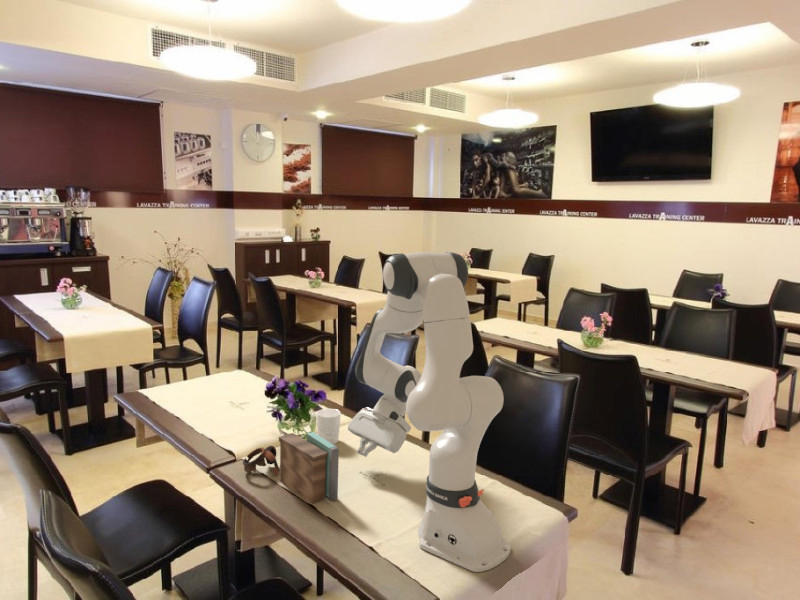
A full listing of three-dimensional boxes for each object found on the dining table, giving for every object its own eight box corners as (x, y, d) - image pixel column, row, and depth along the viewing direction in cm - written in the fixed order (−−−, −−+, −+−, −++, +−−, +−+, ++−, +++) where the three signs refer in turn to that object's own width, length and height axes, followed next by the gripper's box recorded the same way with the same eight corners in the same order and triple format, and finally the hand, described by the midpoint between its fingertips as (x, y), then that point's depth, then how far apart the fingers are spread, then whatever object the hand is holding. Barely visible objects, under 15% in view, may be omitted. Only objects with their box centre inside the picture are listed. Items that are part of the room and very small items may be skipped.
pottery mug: (275, 483, 157) (259, 461, 155) (249, 491, 160) (233, 469, 158) (290, 455, 168) (276, 434, 166) (265, 463, 171) (251, 443, 169)
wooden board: (326, 498, 149) (327, 452, 147) (312, 504, 146) (313, 457, 144) (292, 476, 161) (292, 433, 159) (278, 480, 157) (278, 437, 155)
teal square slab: (339, 497, 149) (340, 448, 146) (331, 500, 147) (332, 451, 145) (312, 477, 159) (313, 431, 157) (305, 480, 158) (306, 433, 155)
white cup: (335, 447, 181) (336, 418, 179) (312, 444, 183) (313, 415, 181) (342, 437, 189) (343, 410, 187) (320, 435, 190) (321, 407, 189)
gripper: (359, 400, 172) (333, 438, 167) (405, 418, 158) (378, 460, 153) (369, 410, 176) (344, 448, 171) (415, 430, 162) (390, 471, 156)
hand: (361, 454), depth 162 cm, fingers closed
